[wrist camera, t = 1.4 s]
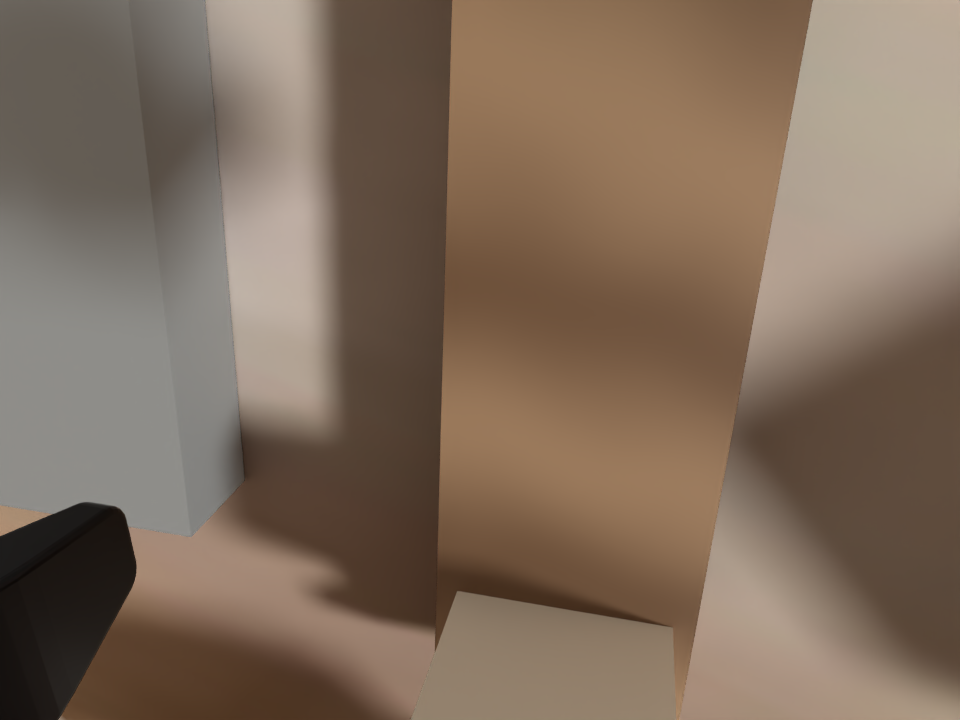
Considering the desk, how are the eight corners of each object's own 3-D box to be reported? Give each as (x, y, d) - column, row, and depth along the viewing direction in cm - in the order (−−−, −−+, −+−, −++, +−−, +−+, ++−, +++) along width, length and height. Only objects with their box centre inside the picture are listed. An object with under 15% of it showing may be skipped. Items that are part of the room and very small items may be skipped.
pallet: (661, 686, 23) (663, 833, 19) (465, 650, 24) (423, 782, 20) (834, -327, 14) (916, -497, 10) (508, -315, 15) (450, -466, 11)
